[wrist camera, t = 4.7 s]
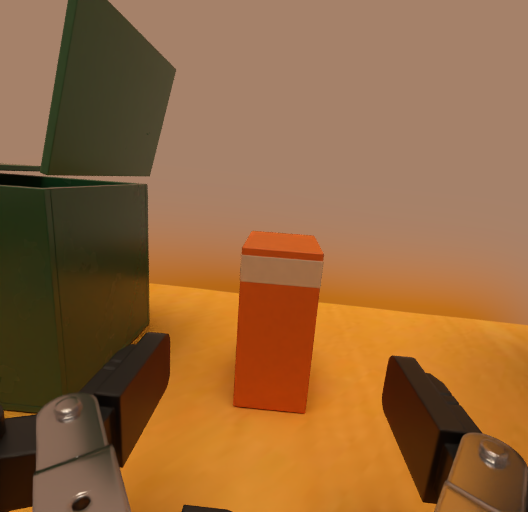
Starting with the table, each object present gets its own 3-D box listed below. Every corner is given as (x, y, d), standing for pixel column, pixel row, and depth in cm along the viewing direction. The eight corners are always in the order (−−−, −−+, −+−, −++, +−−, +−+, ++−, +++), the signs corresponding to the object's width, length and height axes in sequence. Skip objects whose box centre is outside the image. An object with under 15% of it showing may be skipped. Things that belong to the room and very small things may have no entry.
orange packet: (300, 363, 25) (314, 235, 23) (305, 414, 20) (324, 253, 17) (243, 357, 25) (251, 230, 23) (232, 406, 20) (241, 246, 17)
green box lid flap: (145, 174, 26) (149, 176, 26) (39, 172, 15) (47, 175, 15) (171, 67, 24) (176, 69, 24) (72, -30, 13) (81, -27, 13)
